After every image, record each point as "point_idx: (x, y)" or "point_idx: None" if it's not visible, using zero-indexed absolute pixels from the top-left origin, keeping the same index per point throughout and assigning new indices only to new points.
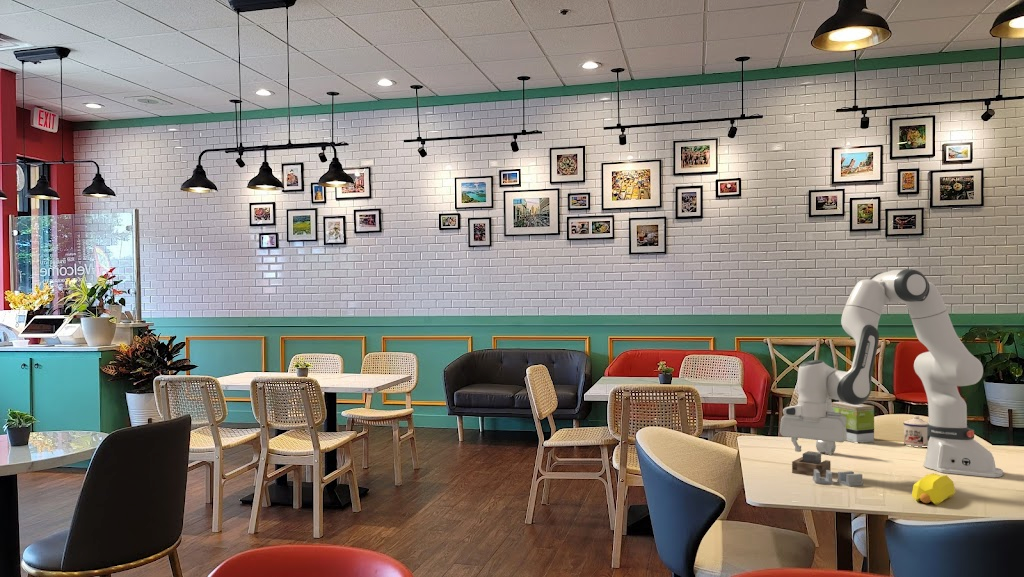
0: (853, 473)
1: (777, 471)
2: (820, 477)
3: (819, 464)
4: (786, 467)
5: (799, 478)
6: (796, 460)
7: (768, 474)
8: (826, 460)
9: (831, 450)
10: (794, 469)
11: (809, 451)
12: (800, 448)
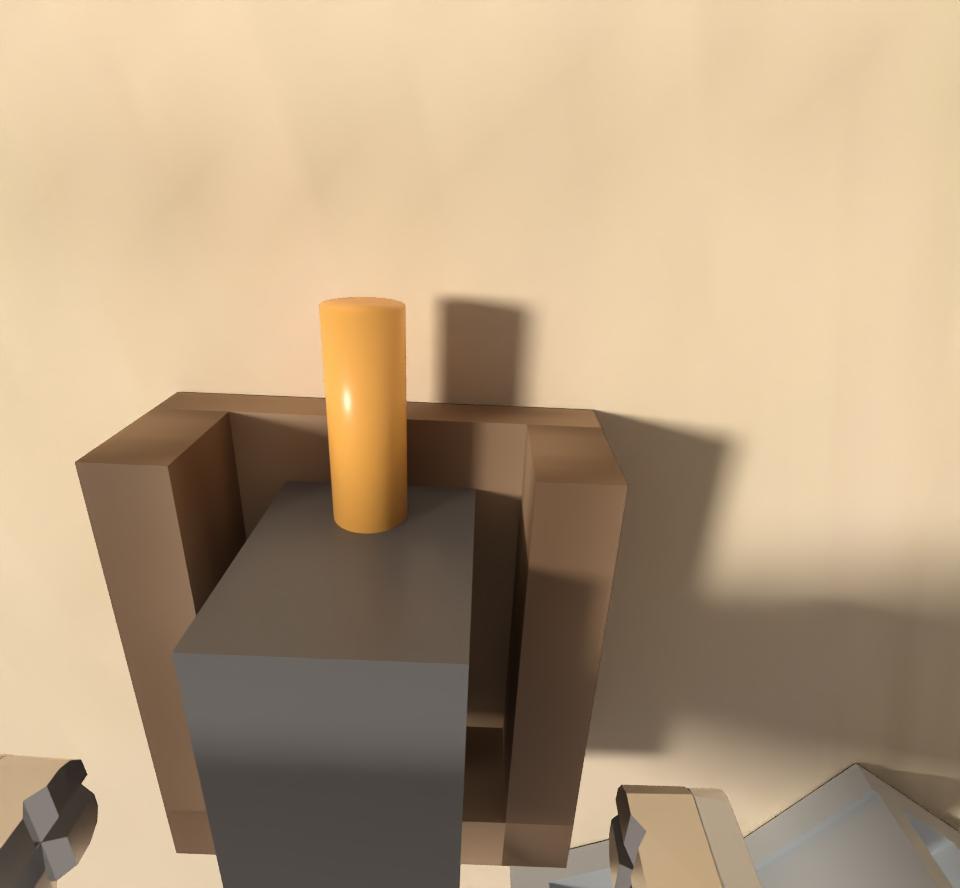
0: (943, 881)
1: (97, 751)
2: (578, 875)
3: (530, 827)
4: (26, 507)
5: None
6: (176, 769)
7: (120, 884)
8: (556, 502)
9: (757, 876)
10: None
11: (208, 674)
12: (35, 839)
